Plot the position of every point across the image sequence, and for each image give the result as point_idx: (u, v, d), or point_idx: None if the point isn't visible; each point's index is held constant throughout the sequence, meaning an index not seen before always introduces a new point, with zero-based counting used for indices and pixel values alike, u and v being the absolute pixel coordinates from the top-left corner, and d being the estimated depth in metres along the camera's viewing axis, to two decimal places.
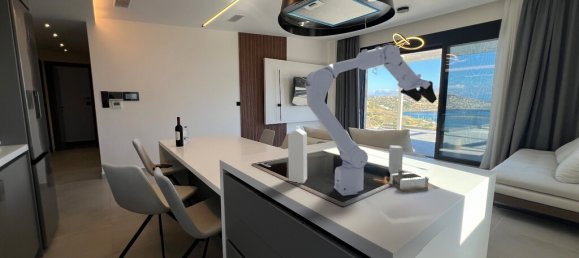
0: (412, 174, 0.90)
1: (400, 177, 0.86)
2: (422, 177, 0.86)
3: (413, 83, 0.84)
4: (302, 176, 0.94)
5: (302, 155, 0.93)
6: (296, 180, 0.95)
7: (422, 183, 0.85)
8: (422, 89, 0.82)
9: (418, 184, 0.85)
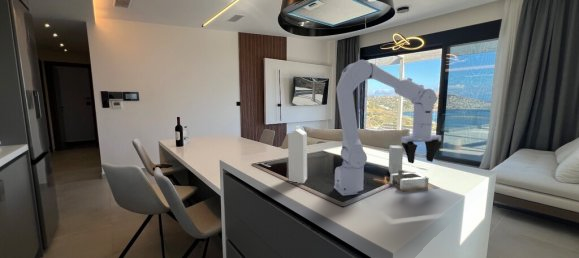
0: (412, 174, 0.90)
1: (400, 177, 0.86)
2: (422, 177, 0.86)
3: (413, 135, 0.87)
4: (302, 176, 0.94)
5: (302, 155, 0.93)
6: (296, 180, 0.95)
7: (422, 183, 0.85)
8: None
9: (418, 184, 0.85)
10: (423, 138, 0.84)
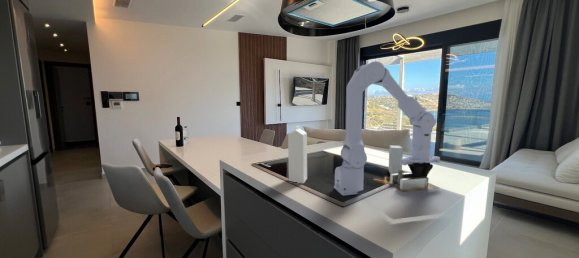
0: None
1: (400, 177, 0.86)
2: (422, 177, 0.86)
3: (412, 156, 0.88)
4: (302, 176, 0.94)
5: (302, 155, 0.93)
6: (296, 180, 0.95)
7: (422, 183, 0.85)
8: None
9: (418, 184, 0.85)
10: (422, 160, 0.85)
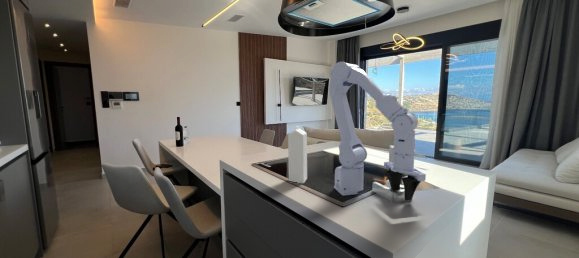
0: None
1: None
2: (392, 190, 0.76)
3: None
4: (302, 176, 0.94)
5: (302, 155, 0.93)
6: (296, 180, 0.95)
7: (388, 195, 0.76)
8: None
9: (385, 194, 0.78)
10: None
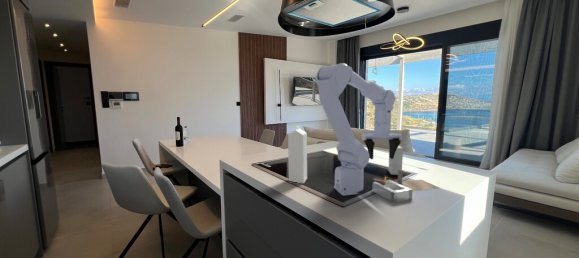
0: None
1: (400, 177, 0.86)
2: (392, 190, 0.76)
3: (374, 133, 0.93)
4: (302, 176, 0.94)
5: (302, 155, 0.93)
6: (296, 180, 0.95)
7: (388, 195, 0.76)
8: None
9: (385, 194, 0.78)
10: (381, 136, 0.90)
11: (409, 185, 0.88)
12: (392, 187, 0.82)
